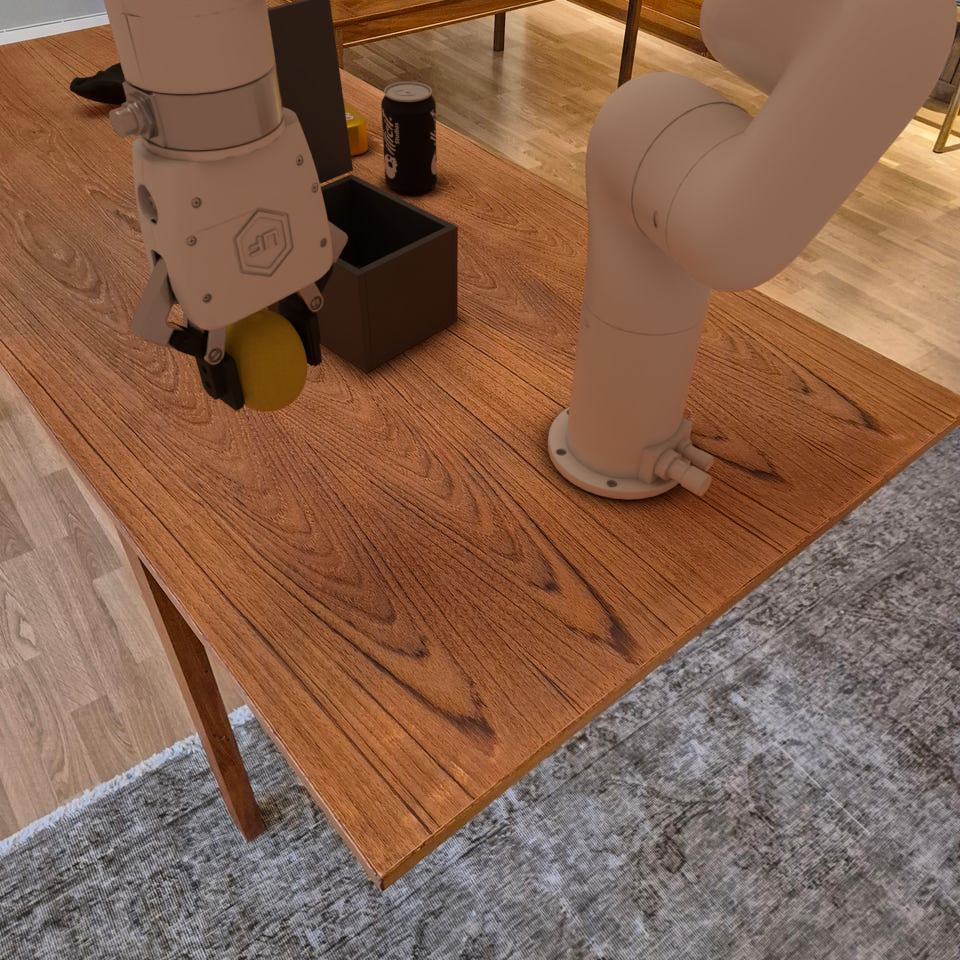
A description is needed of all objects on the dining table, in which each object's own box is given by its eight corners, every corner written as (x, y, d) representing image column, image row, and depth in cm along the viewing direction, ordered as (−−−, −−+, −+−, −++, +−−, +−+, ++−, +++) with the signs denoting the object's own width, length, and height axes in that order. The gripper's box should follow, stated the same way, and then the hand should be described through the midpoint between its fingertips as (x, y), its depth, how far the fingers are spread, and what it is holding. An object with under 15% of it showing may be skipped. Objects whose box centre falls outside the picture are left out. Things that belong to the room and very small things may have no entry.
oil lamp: (65, 96, 133) (55, 62, 129) (193, 74, 140) (187, 41, 137) (89, 133, 124) (78, 97, 120) (225, 108, 131) (218, 73, 128)
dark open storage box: (457, 321, 93) (458, 226, 85) (366, 373, 86) (357, 275, 78) (359, 265, 100) (351, 173, 93) (268, 309, 94) (251, 214, 86)
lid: (329, -6, 81) (295, -13, 84) (212, 25, 75) (180, 16, 78) (353, 170, 92) (322, 159, 95) (253, 211, 85) (223, 197, 88)
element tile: (231, 132, 125) (225, 97, 122) (331, 113, 130) (327, 79, 127) (268, 175, 116) (262, 139, 112) (373, 152, 121) (371, 117, 118)
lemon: (330, 407, 61) (315, 309, 56) (265, 447, 58) (243, 348, 53) (280, 374, 64) (261, 277, 58) (216, 410, 61) (189, 312, 55)
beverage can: (430, 200, 112) (428, 103, 103) (379, 194, 113) (373, 97, 104) (442, 177, 116) (441, 82, 108) (393, 171, 117) (388, 77, 109)
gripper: (95, 182, 40) (188, 469, 53) (379, 76, 49) (400, 345, 62) (17, 133, 44) (121, 413, 57) (294, 43, 53) (330, 303, 65)
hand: (266, 375), depth 59 cm, fingers closed on lemon, 5 cm apart
